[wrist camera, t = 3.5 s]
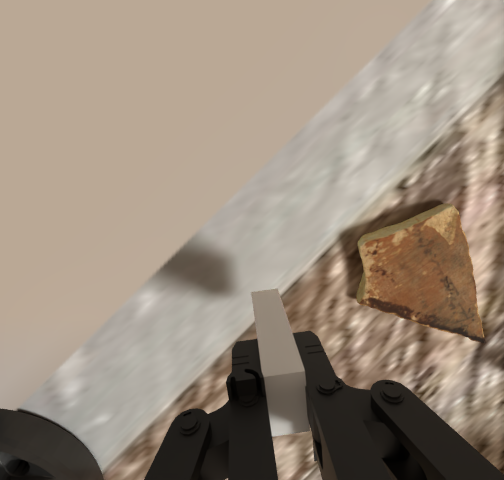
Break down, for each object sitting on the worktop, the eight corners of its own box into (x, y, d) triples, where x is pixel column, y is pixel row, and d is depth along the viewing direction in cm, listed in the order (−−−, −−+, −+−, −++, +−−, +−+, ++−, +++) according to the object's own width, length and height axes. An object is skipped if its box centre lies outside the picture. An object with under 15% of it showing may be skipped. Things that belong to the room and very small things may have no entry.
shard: (469, 331, 22) (490, 346, 20) (374, 367, 22) (386, 384, 20) (444, 198, 19) (466, 202, 17) (334, 241, 19) (345, 249, 17)
